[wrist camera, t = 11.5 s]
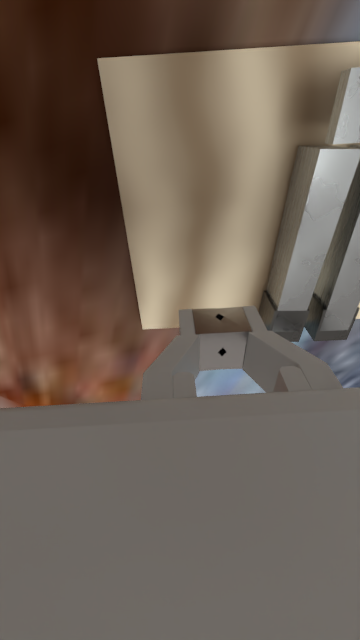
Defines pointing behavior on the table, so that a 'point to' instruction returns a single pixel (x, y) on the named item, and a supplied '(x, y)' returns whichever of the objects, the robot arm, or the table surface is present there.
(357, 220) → the tongs fixed
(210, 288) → the board
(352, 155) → the tongs arm
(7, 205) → the table surface
